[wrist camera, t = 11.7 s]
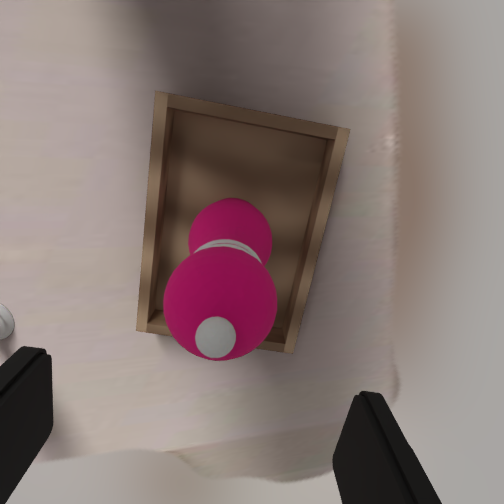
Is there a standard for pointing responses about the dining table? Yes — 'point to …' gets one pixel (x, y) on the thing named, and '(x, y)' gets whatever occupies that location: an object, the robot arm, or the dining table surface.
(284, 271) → the serving tray
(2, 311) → the chalice
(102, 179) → the dining table surface
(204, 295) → the pepper mill
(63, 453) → the dining table surface
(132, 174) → the dining table surface
